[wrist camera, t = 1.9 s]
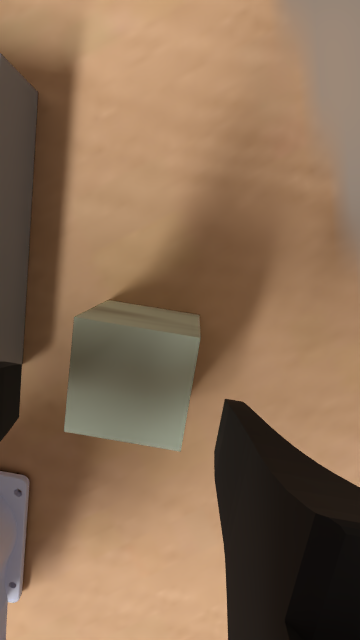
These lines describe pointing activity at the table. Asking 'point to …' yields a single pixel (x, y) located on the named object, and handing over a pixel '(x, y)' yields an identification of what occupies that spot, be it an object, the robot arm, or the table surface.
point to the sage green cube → (132, 373)
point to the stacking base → (15, 204)
